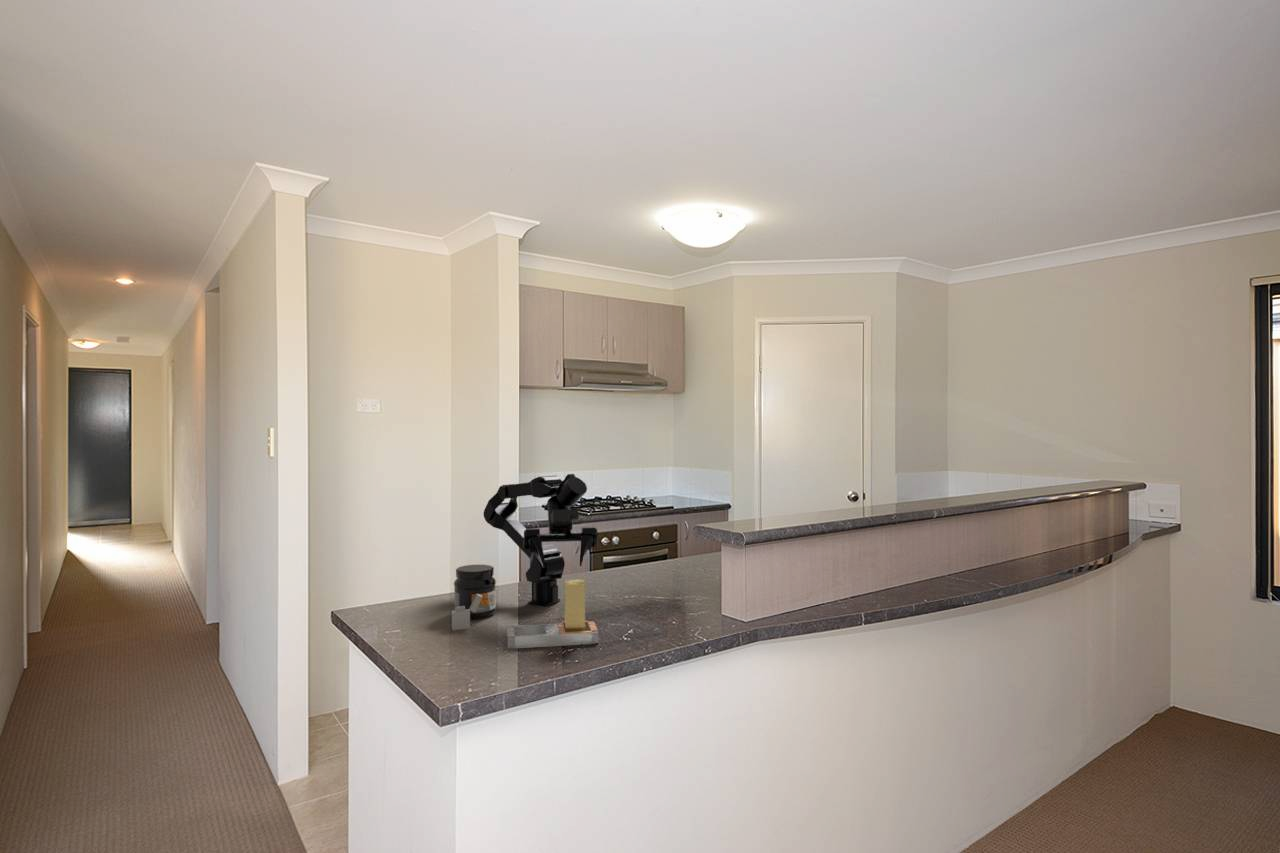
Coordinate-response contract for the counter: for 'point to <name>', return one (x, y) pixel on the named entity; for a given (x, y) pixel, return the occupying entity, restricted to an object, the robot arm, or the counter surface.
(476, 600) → the lighter
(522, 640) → the divided tray
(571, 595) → the tan block
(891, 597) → the counter surface
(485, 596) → the supplement container
